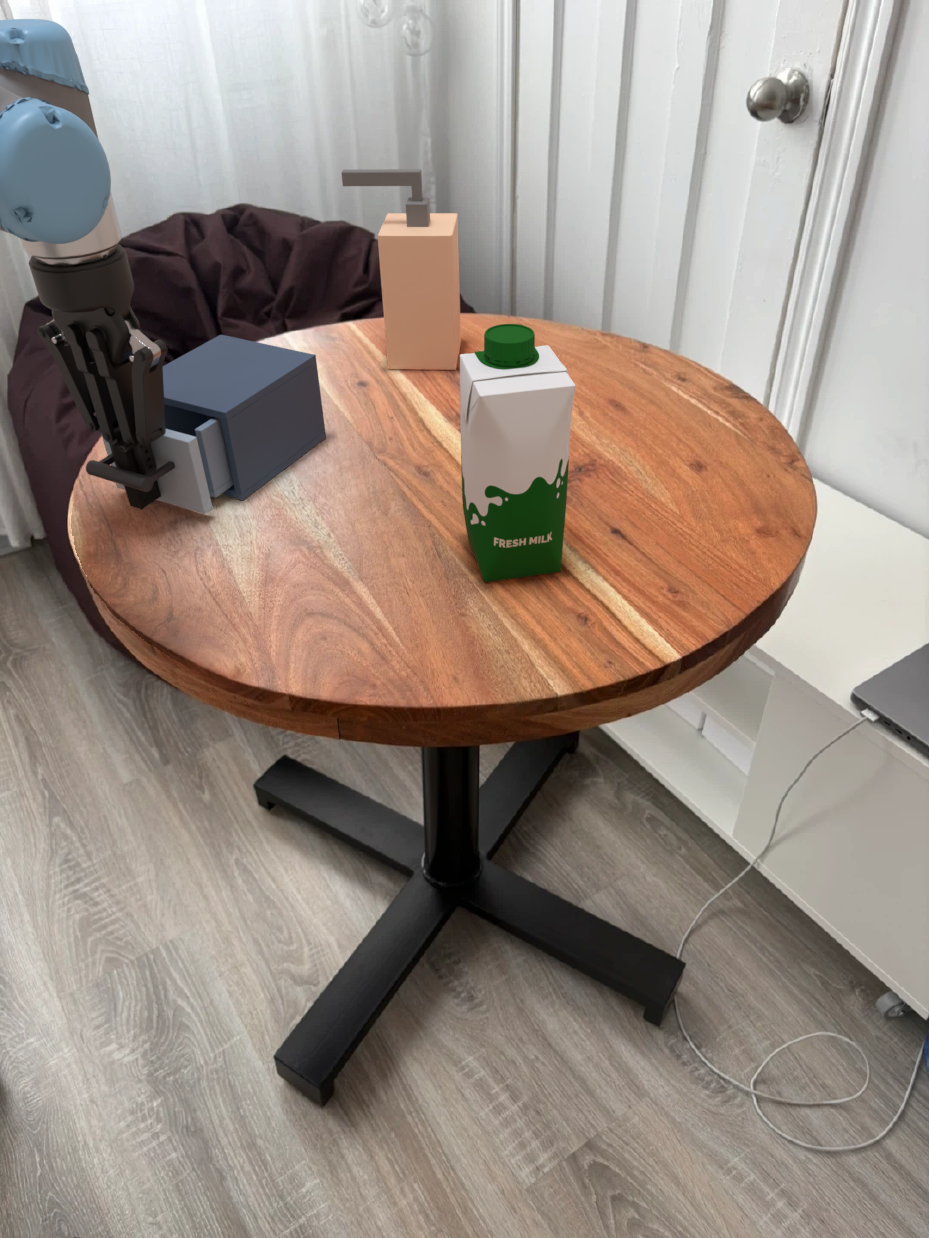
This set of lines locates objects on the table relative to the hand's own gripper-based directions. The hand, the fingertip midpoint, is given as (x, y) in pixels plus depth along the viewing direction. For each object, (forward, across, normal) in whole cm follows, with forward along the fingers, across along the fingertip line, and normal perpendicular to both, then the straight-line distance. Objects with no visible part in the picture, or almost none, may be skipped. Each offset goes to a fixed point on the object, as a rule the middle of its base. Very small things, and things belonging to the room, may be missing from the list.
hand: (145, 500), depth 89 cm
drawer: (+1, 0, -6) cm, 6 cm away
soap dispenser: (+2, -4, -44) cm, 44 cm away
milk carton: (+2, -35, -10) cm, 36 cm away
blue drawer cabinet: (+2, 0, -14) cm, 14 cm away
